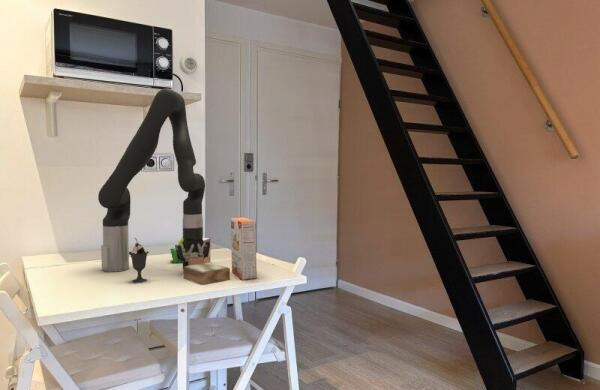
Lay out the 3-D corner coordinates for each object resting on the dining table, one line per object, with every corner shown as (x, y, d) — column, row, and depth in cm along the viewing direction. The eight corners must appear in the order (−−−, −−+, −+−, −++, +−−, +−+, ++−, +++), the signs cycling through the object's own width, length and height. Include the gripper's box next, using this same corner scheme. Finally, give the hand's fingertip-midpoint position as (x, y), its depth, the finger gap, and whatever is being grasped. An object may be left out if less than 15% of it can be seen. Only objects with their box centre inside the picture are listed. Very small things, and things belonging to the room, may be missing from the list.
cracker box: (230, 272, 168) (230, 217, 167) (246, 270, 171) (245, 216, 169) (240, 280, 155) (240, 221, 154) (257, 278, 158) (256, 220, 157)
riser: (202, 284, 149) (202, 272, 149) (183, 277, 159) (183, 266, 159) (229, 279, 157) (229, 267, 156) (210, 273, 166) (210, 261, 166)
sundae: (133, 278, 158) (132, 236, 157) (152, 278, 158) (151, 236, 157) (125, 283, 151) (125, 239, 150) (145, 283, 151) (144, 239, 150)
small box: (203, 266, 178) (202, 240, 177) (190, 266, 179) (189, 240, 178) (210, 262, 185) (210, 238, 185) (198, 262, 187) (198, 237, 186)
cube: (190, 274, 165) (190, 259, 164) (183, 271, 169) (183, 257, 168) (203, 272, 168) (203, 257, 168) (196, 269, 172) (196, 255, 172)
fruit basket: (197, 258, 194) (196, 233, 193) (199, 262, 186) (198, 236, 185) (170, 260, 190) (169, 234, 190) (170, 264, 182) (170, 237, 181)
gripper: (204, 223, 175) (204, 265, 176) (170, 226, 166) (171, 271, 166) (214, 225, 170) (214, 268, 171) (180, 228, 160) (180, 274, 161)
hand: (193, 269), depth 169 cm, fingers closed on cube, 5 cm apart
